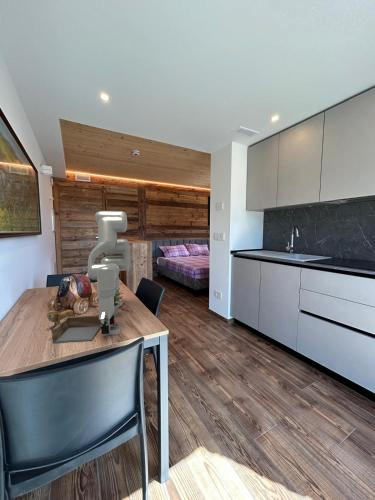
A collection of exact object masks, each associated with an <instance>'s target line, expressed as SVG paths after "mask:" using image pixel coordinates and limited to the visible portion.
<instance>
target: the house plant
mask: <svg viewBox="0 0 375 500" xmlns="http://www.w3.org/2000/svg"><path fill="white" fill-rule="evenodd" d="M116 288H117V287H116ZM116 288H115V290H116ZM119 289H120V294H119V292H118V291H119ZM119 289H118V290H117V291H116V292H115V296H114V318H115V317H117V315H118V310H119V307H118V303H116V301H119V300H118V299H120V300H121V299H122V298H123V297H124V296H123V295H122V294H124V292H123V291H125V290H121V287H120V288H119ZM117 292H118V293H117ZM118 295H120V296H121V295H122V296H121V297H120V298H118V297H117V296H118ZM116 297H117V298H118V299H117V298H116ZM115 298H116V299H115Z"/></svg>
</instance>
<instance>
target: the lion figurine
mask: <svg viewBox="0 0 375 500" xmlns="http://www.w3.org/2000/svg"><path fill="white" fill-rule="evenodd" d="M46 316H47V320H48V321H50V322H52V323H54V325H53V327H54V328H55V327H56V326H57V325H58V324H59V323H60V322H61V321H63V320H64V319H65V318H66V317H76V314H75V312H74V310H72V309H67V310H64V311H61V312H60V311H58V310H53V309H52V310H49V311H48V312H47V315H46Z"/></svg>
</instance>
